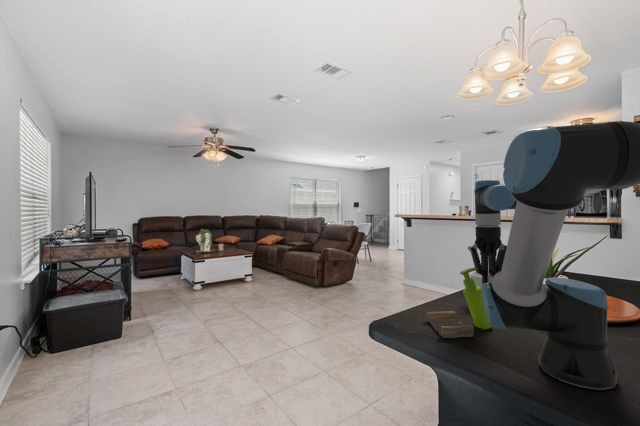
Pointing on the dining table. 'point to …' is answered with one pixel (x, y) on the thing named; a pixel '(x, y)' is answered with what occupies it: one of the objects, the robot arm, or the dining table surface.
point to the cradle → (450, 329)
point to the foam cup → (477, 279)
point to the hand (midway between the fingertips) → (488, 294)
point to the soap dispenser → (475, 300)
